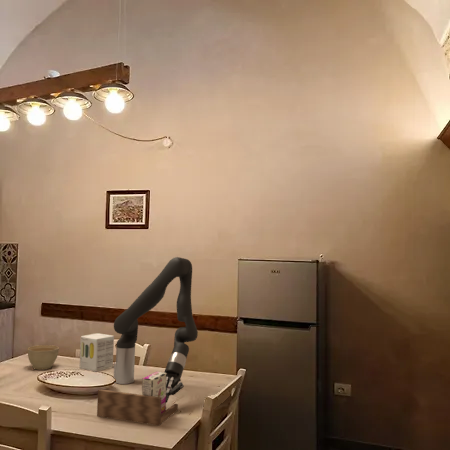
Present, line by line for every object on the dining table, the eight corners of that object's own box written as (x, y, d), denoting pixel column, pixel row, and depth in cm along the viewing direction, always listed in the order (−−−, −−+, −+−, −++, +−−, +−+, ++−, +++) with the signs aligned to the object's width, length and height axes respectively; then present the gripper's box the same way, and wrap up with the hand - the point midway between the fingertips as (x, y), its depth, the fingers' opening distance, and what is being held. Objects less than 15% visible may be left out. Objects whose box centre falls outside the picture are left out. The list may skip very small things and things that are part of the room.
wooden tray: (96, 415, 185) (98, 390, 186) (120, 402, 202) (121, 378, 203) (158, 425, 177) (159, 398, 178) (177, 410, 194) (178, 385, 195)
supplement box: (78, 368, 257) (79, 336, 258) (96, 363, 268) (97, 332, 269) (95, 372, 250) (96, 339, 251) (113, 367, 261) (114, 335, 262)
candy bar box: (155, 411, 192) (156, 371, 193) (166, 413, 190) (167, 372, 191) (140, 420, 182) (141, 377, 182) (151, 422, 180) (152, 379, 180)
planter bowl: (51, 372, 247) (52, 351, 248) (21, 371, 247) (22, 350, 248) (62, 364, 263) (63, 345, 264) (34, 363, 263) (35, 344, 264)
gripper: (159, 359, 203) (145, 396, 191) (187, 362, 199) (175, 400, 187) (164, 368, 208) (151, 405, 196) (191, 371, 204) (180, 409, 192)
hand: (163, 402), depth 191 cm, fingers closed
